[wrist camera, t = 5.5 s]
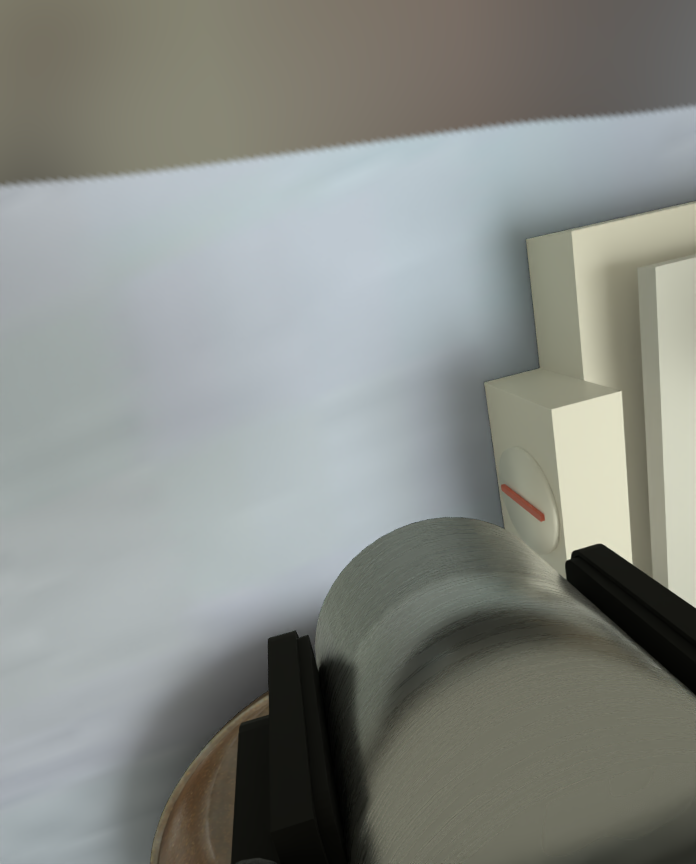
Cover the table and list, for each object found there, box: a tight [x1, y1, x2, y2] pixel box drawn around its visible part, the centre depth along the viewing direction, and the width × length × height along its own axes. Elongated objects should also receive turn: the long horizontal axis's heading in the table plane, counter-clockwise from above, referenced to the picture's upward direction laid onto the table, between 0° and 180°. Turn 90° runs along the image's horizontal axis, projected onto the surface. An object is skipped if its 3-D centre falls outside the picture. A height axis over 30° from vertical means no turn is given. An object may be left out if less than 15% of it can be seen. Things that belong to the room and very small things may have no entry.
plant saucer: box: [150, 691, 269, 864], centre depth 25 cm, size 21×21×3 cm
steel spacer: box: [315, 517, 696, 864], centre depth 8 cm, size 5×5×6 cm
